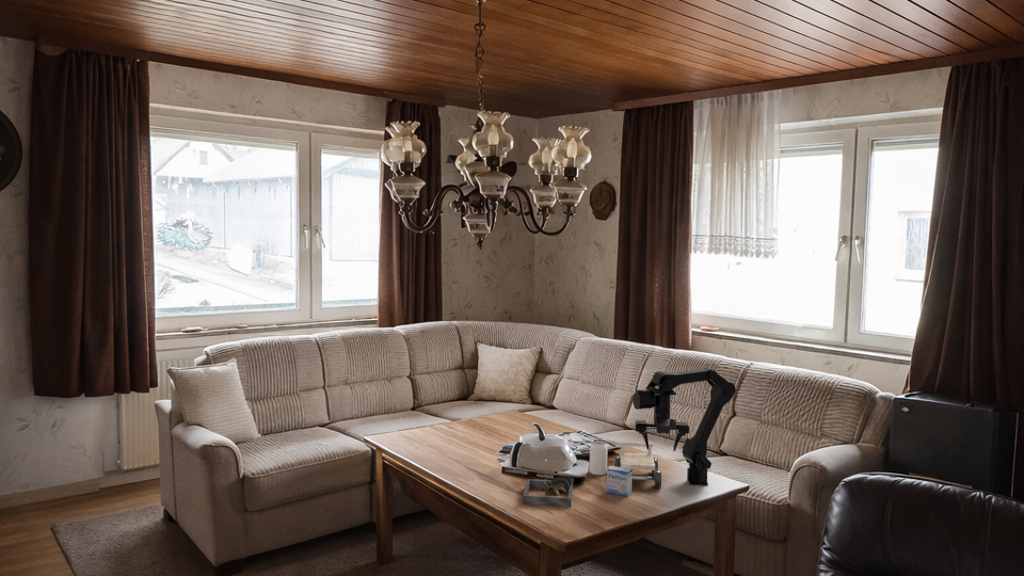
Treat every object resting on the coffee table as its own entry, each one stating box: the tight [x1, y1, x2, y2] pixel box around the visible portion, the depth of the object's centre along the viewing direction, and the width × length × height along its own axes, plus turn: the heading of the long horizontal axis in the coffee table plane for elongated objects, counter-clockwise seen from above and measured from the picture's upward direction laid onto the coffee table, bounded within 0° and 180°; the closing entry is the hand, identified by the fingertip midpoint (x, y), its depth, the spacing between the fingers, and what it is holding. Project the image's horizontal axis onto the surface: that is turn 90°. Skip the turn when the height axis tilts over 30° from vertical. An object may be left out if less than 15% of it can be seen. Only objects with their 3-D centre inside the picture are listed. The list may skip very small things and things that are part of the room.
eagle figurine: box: [542, 475, 572, 496], centre depth 246 cm, size 8×7×9 cm
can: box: [589, 439, 608, 477], centre depth 268 cm, size 6×6×12 cm
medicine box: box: [606, 465, 633, 497], centre depth 248 cm, size 8×4×9 cm, turn 64°
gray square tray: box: [522, 478, 574, 508], centre depth 243 cm, size 16×16×3 cm
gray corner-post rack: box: [613, 441, 662, 488], centre depth 261 cm, size 16×20×12 cm
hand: (661, 450), depth 254 cm, fingers open, 9 cm apart
